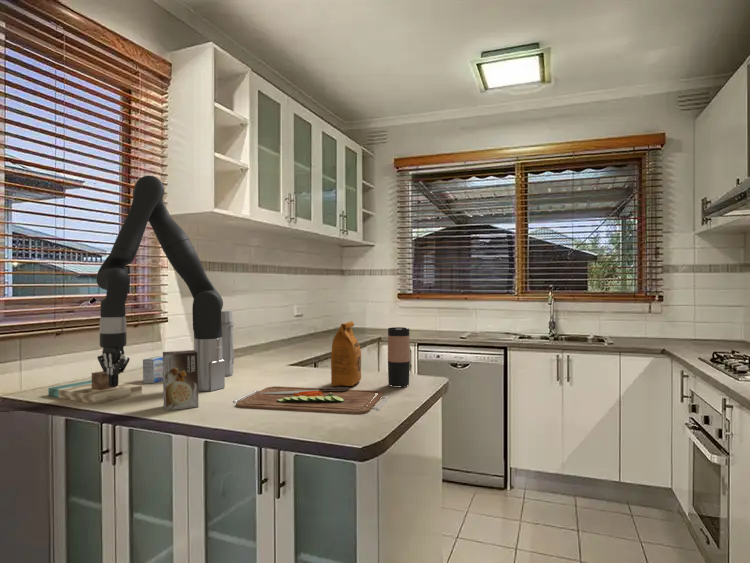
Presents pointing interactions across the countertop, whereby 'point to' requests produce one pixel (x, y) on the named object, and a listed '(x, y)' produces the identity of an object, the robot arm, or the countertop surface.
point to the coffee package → (345, 357)
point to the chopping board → (312, 400)
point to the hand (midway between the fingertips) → (113, 386)
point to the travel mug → (398, 356)
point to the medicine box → (153, 369)
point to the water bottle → (227, 341)
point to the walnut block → (100, 381)
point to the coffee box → (180, 379)
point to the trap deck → (93, 392)
